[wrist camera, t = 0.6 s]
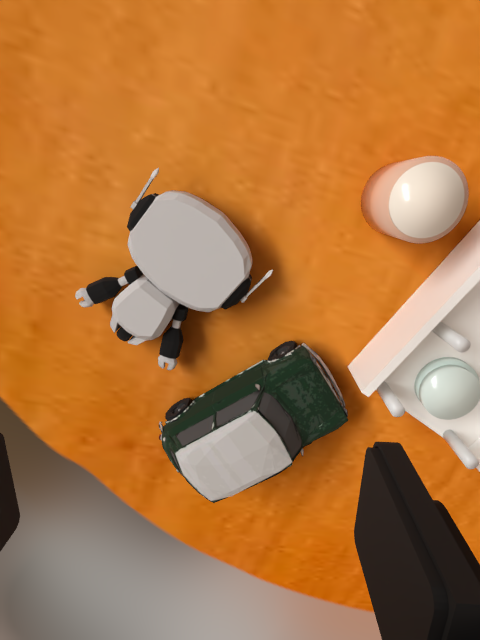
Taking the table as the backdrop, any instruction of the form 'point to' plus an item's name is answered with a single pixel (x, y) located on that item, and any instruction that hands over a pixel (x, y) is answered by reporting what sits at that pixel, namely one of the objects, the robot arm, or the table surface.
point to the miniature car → (253, 422)
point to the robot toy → (174, 269)
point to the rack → (431, 345)
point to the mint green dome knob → (448, 388)
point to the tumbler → (415, 199)
